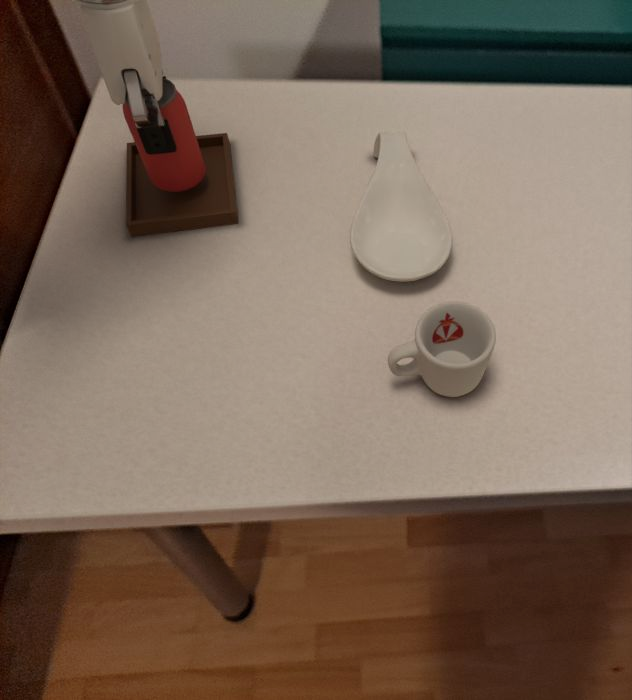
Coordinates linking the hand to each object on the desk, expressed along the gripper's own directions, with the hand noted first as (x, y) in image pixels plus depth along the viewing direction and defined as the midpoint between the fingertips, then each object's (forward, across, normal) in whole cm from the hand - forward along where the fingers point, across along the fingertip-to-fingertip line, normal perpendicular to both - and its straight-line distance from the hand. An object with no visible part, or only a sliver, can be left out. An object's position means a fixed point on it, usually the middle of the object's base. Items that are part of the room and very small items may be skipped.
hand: (161, 128), depth 78 cm
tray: (+9, 0, 0) cm, 9 cm away
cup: (+9, +33, +25) cm, 42 cm away
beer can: (+7, 0, 0) cm, 7 cm away
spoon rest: (+9, +10, +25) cm, 29 cm away
